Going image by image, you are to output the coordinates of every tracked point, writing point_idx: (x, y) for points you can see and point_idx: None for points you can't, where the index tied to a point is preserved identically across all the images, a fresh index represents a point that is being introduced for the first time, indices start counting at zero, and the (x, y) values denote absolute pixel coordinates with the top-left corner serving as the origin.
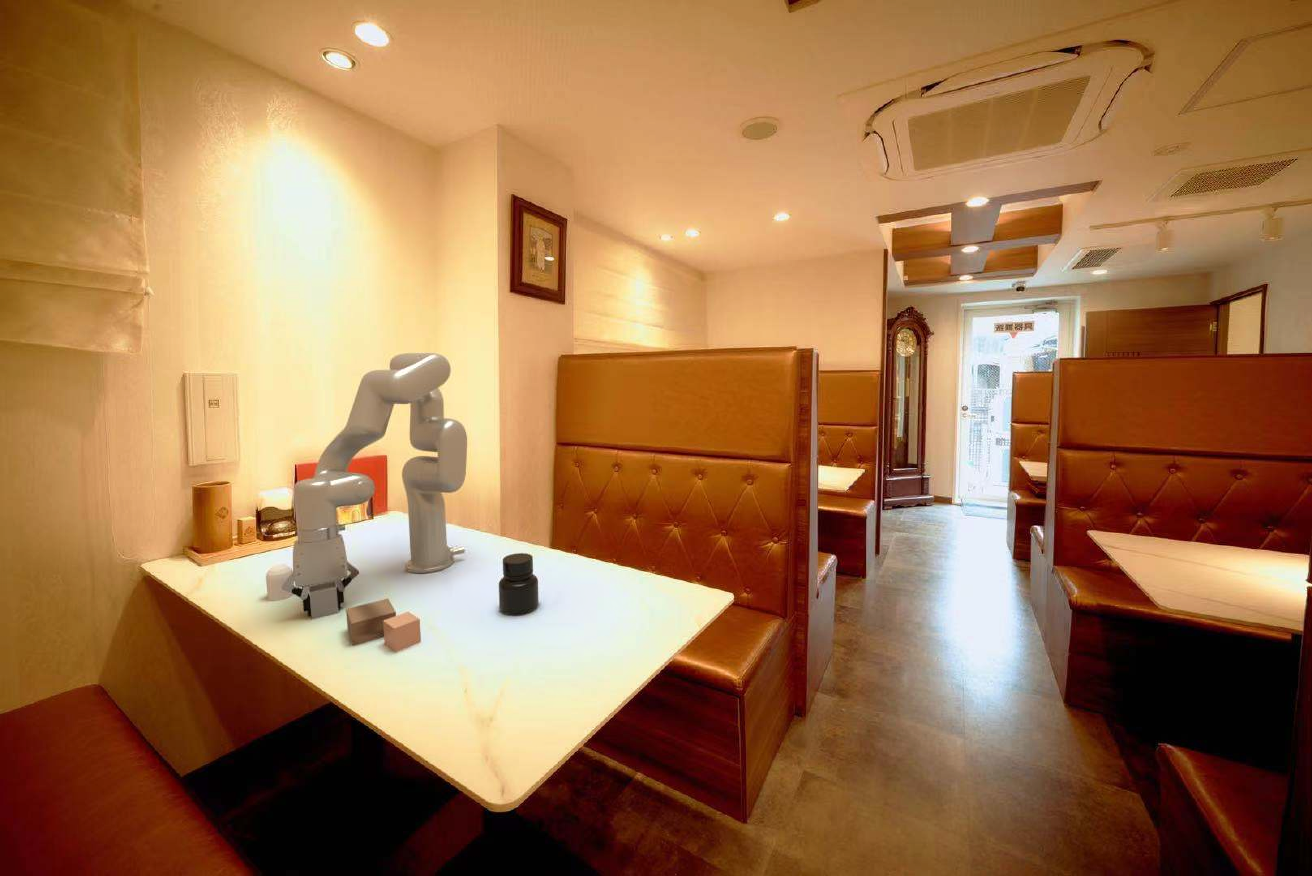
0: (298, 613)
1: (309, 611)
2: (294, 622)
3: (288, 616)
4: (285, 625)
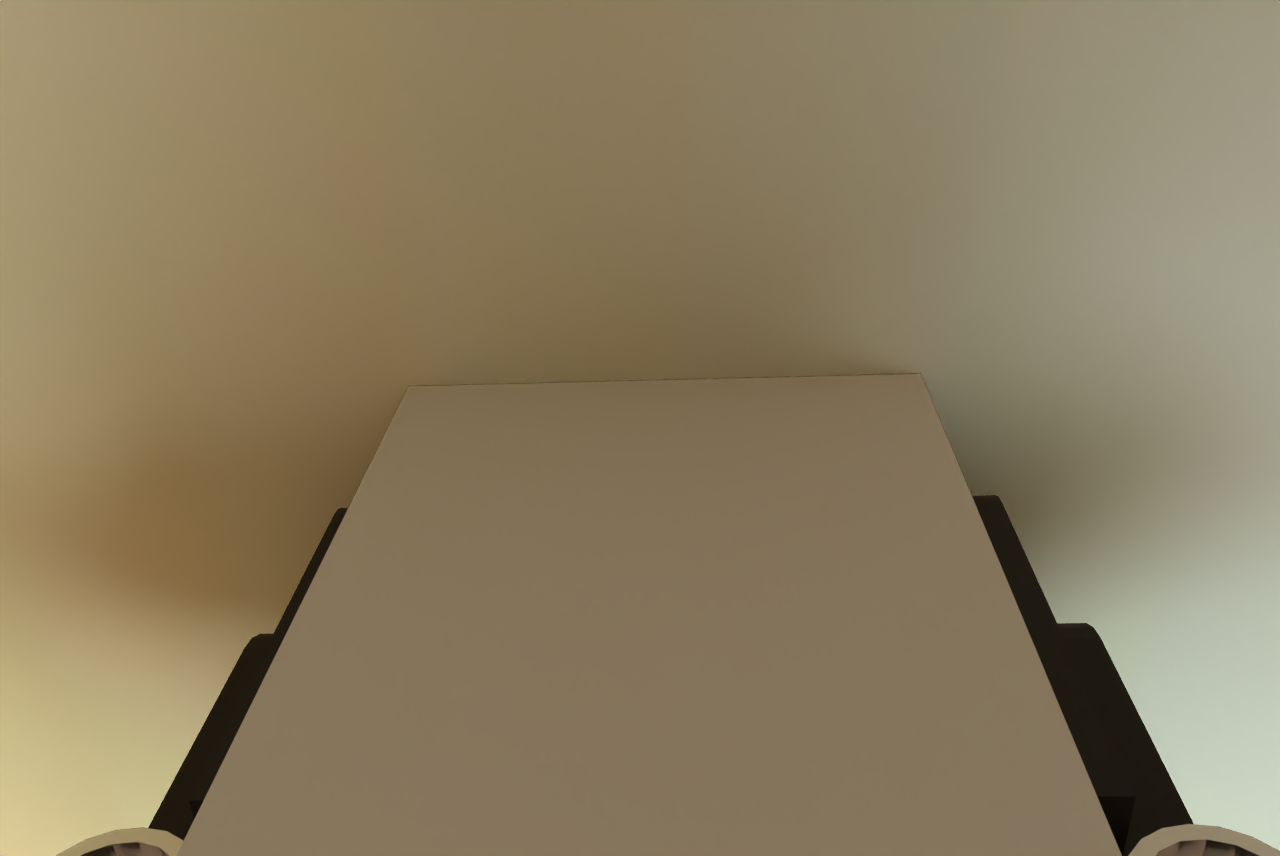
0: (175, 378)
1: None
2: (202, 725)
3: (9, 419)
4: (83, 755)
